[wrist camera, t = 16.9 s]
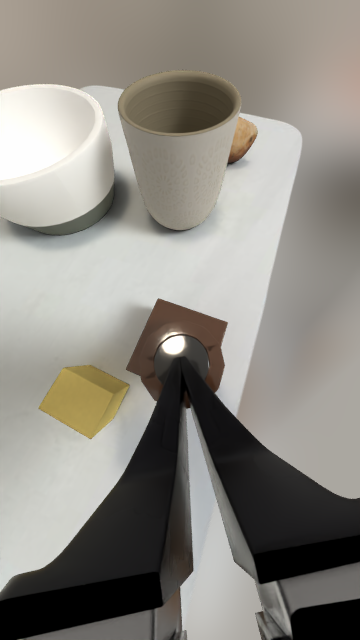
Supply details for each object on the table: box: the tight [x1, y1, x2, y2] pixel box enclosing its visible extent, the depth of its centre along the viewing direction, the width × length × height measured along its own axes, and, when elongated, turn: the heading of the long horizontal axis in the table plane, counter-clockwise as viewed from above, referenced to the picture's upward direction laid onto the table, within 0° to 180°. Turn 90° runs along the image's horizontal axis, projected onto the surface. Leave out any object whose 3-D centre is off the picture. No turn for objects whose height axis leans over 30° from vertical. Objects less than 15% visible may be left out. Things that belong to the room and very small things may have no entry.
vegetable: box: [228, 117, 258, 163], centre depth 24 cm, size 16×11×10 cm
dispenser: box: [126, 298, 228, 409], centre depth 14 cm, size 9×8×6 cm
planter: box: [118, 70, 241, 230], centre depth 19 cm, size 12×12×11 cm
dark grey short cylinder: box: [154, 335, 209, 393], centre depth 11 cm, size 4×4×2 cm
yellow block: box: [39, 365, 129, 439], centre depth 14 cm, size 6×4×4 cm, turn 66°
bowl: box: [0, 84, 115, 235], centre depth 21 cm, size 22×22×8 cm
